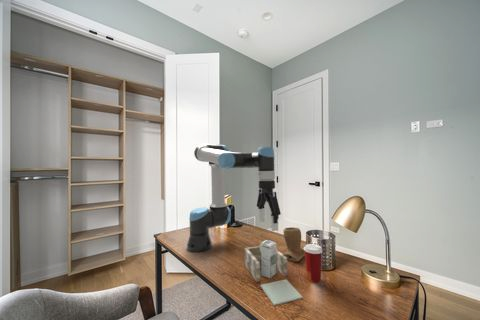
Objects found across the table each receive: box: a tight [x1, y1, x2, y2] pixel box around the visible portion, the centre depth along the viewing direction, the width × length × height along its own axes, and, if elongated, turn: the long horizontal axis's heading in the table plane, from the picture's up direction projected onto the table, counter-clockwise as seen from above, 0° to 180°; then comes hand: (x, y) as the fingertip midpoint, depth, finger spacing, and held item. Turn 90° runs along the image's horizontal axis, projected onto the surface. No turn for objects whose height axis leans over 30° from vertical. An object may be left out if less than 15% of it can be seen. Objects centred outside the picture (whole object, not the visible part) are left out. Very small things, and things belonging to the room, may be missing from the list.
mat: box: [260, 279, 303, 306], centre depth 78 cm, size 12×12×1 cm
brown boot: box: [282, 226, 305, 262], centre depth 109 cm, size 15×12×15 cm
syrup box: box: [259, 239, 278, 280], centre depth 91 cm, size 6×6×14 cm
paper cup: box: [303, 243, 323, 284], centre depth 87 cm, size 8×8×14 cm
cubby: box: [243, 245, 288, 283], centre depth 95 cm, size 16×15×8 cm
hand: (267, 226), depth 91 cm, fingers open, 13 cm apart
